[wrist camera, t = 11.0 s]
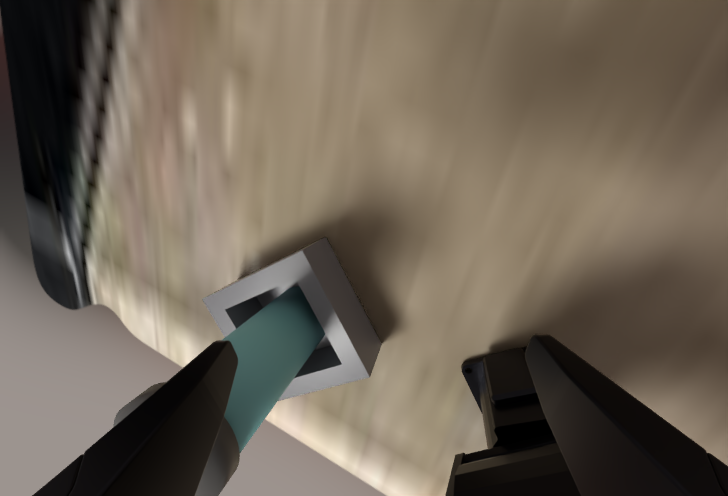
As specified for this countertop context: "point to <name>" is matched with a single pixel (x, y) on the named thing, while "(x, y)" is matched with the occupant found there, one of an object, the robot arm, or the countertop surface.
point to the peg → (255, 378)
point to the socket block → (329, 303)
